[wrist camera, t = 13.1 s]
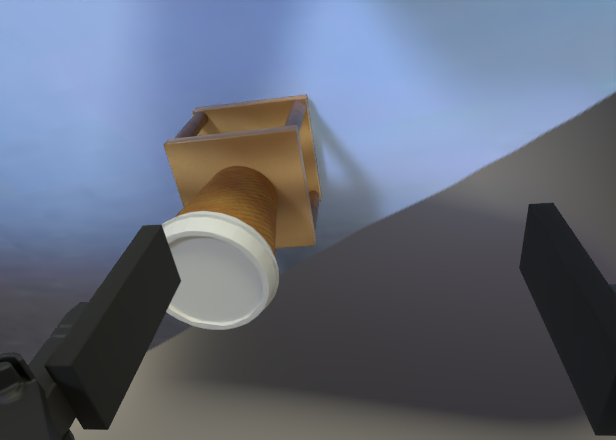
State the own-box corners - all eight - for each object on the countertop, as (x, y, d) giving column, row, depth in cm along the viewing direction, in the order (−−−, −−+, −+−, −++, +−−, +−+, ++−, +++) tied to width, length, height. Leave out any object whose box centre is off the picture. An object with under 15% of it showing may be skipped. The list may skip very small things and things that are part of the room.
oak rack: (195, 107, 48) (162, 144, 40) (306, 94, 46) (295, 129, 38) (222, 204, 54) (198, 253, 45) (321, 196, 52) (315, 245, 44)
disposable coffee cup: (172, 205, 43) (115, 291, 33) (222, 126, 38) (175, 197, 28) (259, 258, 45) (231, 353, 35) (316, 189, 41) (304, 275, 30)
